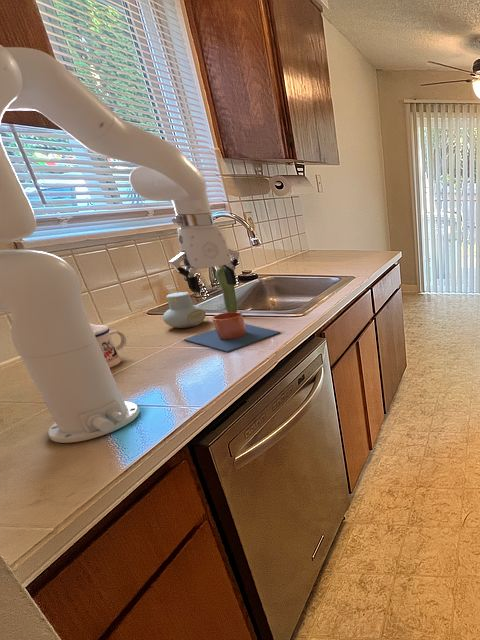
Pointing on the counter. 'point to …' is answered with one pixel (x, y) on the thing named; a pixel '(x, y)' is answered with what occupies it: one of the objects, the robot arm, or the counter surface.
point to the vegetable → (227, 290)
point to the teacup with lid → (108, 343)
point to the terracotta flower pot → (229, 325)
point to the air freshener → (182, 311)
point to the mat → (229, 345)
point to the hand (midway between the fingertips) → (214, 288)
